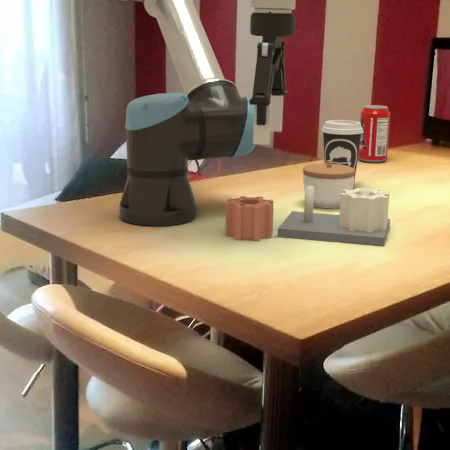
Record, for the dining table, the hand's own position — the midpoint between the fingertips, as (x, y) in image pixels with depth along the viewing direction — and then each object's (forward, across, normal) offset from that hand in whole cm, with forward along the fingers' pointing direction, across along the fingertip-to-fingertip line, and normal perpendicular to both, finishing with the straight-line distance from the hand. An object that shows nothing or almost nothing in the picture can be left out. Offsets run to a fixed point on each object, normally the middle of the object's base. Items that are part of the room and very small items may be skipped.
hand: (268, 137), depth 130 cm
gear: (+17, -3, +2) cm, 18 cm away
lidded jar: (+18, +23, -9) cm, 31 cm away
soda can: (+19, +77, -17) cm, 81 cm away
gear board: (+17, +3, -12) cm, 21 cm away
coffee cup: (+18, +41, -10) cm, 46 cm away
